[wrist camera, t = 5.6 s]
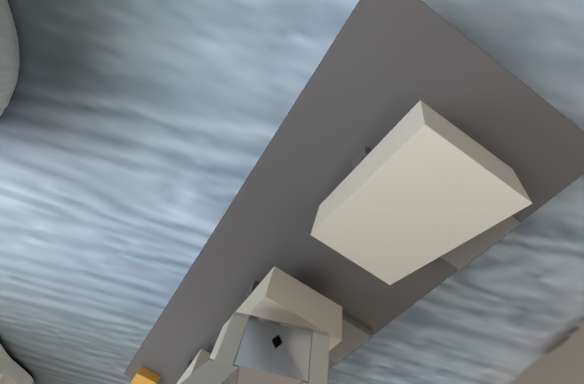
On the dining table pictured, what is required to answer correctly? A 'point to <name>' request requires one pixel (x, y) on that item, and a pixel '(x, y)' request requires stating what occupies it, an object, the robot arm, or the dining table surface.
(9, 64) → the ramekin
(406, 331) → the dining table surface
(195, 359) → the rocker
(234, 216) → the power strip
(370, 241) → the block
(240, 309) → the rocker
